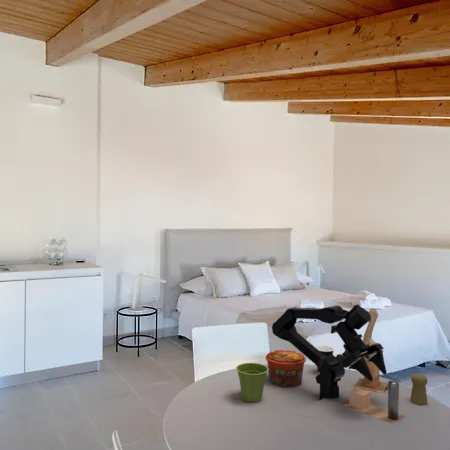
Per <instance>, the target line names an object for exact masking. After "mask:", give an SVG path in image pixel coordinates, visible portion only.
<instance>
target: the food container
mask: <svg viewBox="0 0 450 450" xmlns="http://www.w3.org/2000/svg"><path fill="white" fill-rule="evenodd" d="M306 358H307V357H306V356H305V355H304V354H303V353H302V352H296V351H295V350H289V349H287V350H284V349H277V350H274V351H269V352H268V353H267V354H266V355H265V361H266V362H267V367H268V368H269V370H268V372H267V373H268V381H269V383H270V384H272V385H273V384H274V385H273V386H275V385H277V386H276V387H279V386H280V387H279V388H296V387H298V386H301V385H302V380H303V375H304V374H303V372H304V366H305V362H306V360H307V359H306Z"/></svg>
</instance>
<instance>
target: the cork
mask: <svg viewBox="0 0 450 450" xmlns="http://www.w3.org/2000/svg"><path fill="white" fill-rule="evenodd" d="M410 377H411V379H410V380H411V383H412V387H411V393H410V399H409V400H410V402H411V404H413V405H416V406H427V405H428V396H427V386H426V385H427V384H428V378H427V376H425V375H424V374H421V373H414V374H412V375H411V376H410Z"/></svg>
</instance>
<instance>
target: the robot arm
mask: <svg viewBox="0 0 450 450" xmlns="http://www.w3.org/2000/svg"><path fill="white" fill-rule="evenodd" d="M298 319H299V320H301V319H302V320H303V319H304V320H305V319H306V320H317V321H320V322H322V323H326V324H329V325H330V324H334V323H336V324H334V325H331V327H330V328H331V329H330V334H336V333H337V334H338V336H339V338H340V339H341V340H342V342H343V343H344V344H343V345H342V346H343V348H344V351H343V352H342V353H338V354H336V356H335V355H334V354H333V355H331V356H328V357H327V356H325V355H324V354H322V353H321V352H320V351H319V350H318V349H317V348H315V347H316V346H314V345H313V344H311V342H309V341H308V340H307V339H306V338H305V337H304V336H303V335H301V334H300V333H299V331H298V330H297V328H296V326H295V325H296V324H297V321H298ZM343 320H344V321H343ZM370 320H371V316H370V314H369V311H368V310H366V309H365V308H364V307H362V306H360V305H359V304H355V305H354V306H352V308H351V309H350V310H346V309H344V308H342V306H340V305H338V304H337V305H331V306H326V307H321V308H314V307H313V308H312V307H309V308H308V307H296V306H294V307H290V308H287V309H285V312H283V314H282V315H281V316H279V318H278V319H276V321H275V322H273V323H272V326H271V330H272V334H273V335H274V336H276V337H277V338H279V339H280V340H284V341H286V342H289V343H290V344H291V345H292V346H293V347H295V348H296V349H297V350H298V351H299V353H301V354H303V355H304V357H305V358H307V359H308V360H309V361H310V362H312V363H313V364H314V365H315V366H316V369H317V368H318V369H317V372H318V371H319V373H320V374H317V375H316V376H315V382H316V384H319V395H318V396H319V397H318V401H321V400H323V399H325V398H326V399H337V398H340V386H339V384H338V382H340V381H341V380H342V378H343V377H344V376H345V374H346V369H347V368H348V369H349V370H355V371H357V372H358V373H360V374H361V375H362V376H363V377H364V376H365V377H366V378H367V379H368V380H369V381H372V380H373V377H372V375H371V372H370V370H369V368H368V366H367V363H366V361H365V359H364V357H366V358H367V359H369V360H368V361H370V362H373V363H374V364H375V365H376V366H377V368H378V369H379V370H380V371H379V372H381V374H383V375H384V376H385V375H386V374H388V373H387V368H386V364H385V359H384V354H383V352H384V347H383V346H382V345H383V344H381V343H379V342H375V344H373V345H371V346H369V344H367V345H366V344H365V343H364V342H363V339H362V338H364V335H362V334H361V333H359V334H358V332H357V331H356V330H361V329H362V328H363V327H364V326H365V325H367V323H369V321H370Z"/></svg>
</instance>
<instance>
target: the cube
mask: <svg viewBox="0 0 450 450" xmlns="http://www.w3.org/2000/svg"><path fill="white" fill-rule="evenodd" d="M349 402H350V403H349ZM349 402H348V403H349V406H352V407H354V408H357V409H360V410H364V409H366V408H368V407H370V404H371V391H366V390H363V389H360V388H356V389H355V388H354V389H352V390H350V391H349Z"/></svg>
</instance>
